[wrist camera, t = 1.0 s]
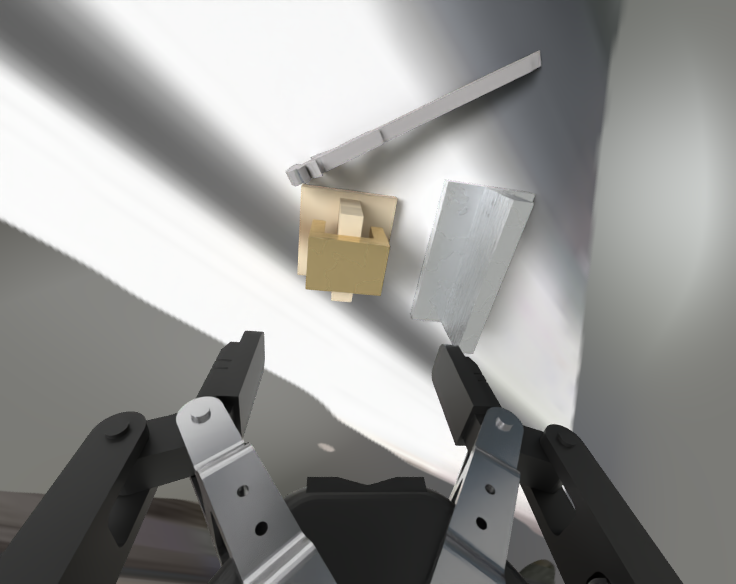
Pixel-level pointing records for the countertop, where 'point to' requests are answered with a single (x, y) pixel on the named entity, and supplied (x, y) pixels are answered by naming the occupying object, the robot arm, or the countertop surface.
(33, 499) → the countertop surface
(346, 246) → the u clip
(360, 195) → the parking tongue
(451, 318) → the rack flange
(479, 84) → the caliper
